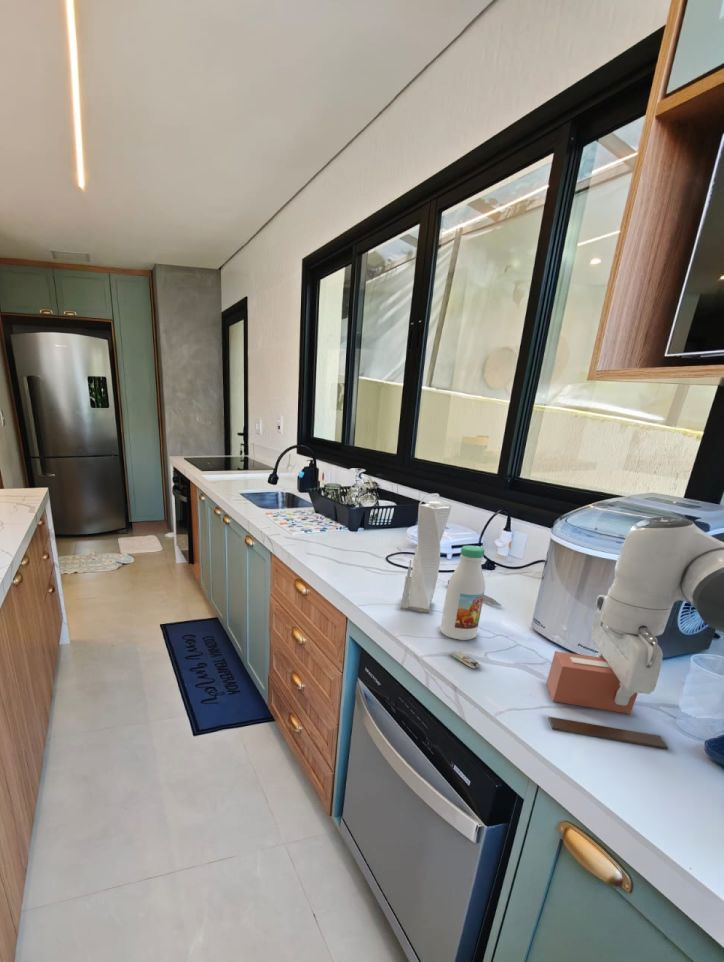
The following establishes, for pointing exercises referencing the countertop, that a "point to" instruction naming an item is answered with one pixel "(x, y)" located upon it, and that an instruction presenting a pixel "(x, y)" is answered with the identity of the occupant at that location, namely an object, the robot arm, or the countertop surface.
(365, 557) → the countertop surface
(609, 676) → the tissue box
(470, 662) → the granola bar
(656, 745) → the walnut ruler
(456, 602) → the milk bottle
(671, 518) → the robot arm
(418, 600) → the skyscraper
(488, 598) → the kitchen knife
